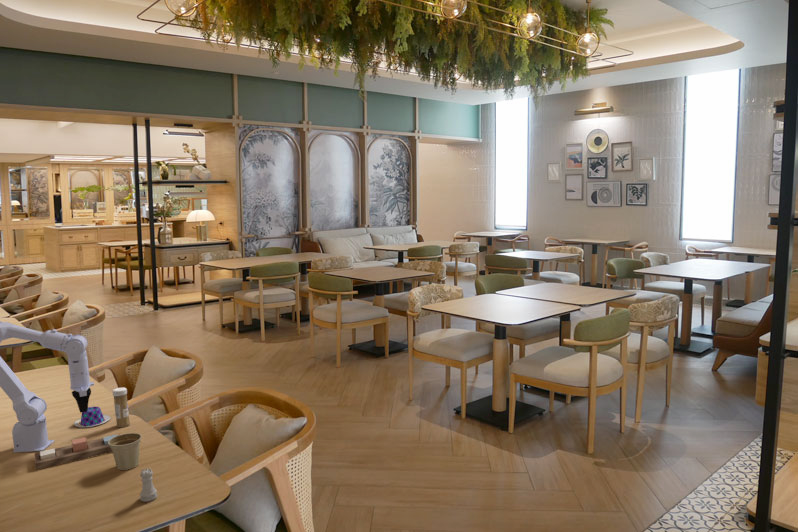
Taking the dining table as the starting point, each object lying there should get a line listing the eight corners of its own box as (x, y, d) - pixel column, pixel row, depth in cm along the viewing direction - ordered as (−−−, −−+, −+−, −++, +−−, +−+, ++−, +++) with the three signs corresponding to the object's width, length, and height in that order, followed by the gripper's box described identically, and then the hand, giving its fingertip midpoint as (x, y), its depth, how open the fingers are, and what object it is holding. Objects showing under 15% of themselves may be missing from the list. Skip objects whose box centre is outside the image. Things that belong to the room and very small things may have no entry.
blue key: (105, 450, 200) (104, 441, 199) (103, 445, 203) (102, 437, 203) (118, 447, 202) (117, 438, 202) (117, 442, 205) (116, 434, 205)
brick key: (73, 453, 195) (72, 444, 195) (72, 448, 198) (71, 440, 198) (87, 449, 197) (86, 441, 197) (86, 445, 200) (85, 437, 200)
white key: (41, 465, 190) (40, 456, 190) (40, 460, 194) (39, 451, 193) (56, 461, 193) (55, 452, 192) (55, 457, 196) (54, 448, 196)
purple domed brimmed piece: (66, 428, 222) (64, 414, 221) (90, 415, 233) (89, 402, 232) (94, 430, 219) (93, 415, 218) (117, 417, 230) (116, 403, 229)
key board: (36, 469, 188) (35, 463, 187) (35, 459, 195) (34, 453, 195) (125, 449, 201) (124, 443, 200) (120, 439, 208) (120, 434, 208)
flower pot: (111, 476, 182) (108, 448, 181) (109, 463, 190) (107, 437, 189) (145, 468, 186) (143, 441, 185) (142, 456, 194) (140, 430, 193)
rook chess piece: (143, 494, 170) (140, 467, 169) (159, 493, 170) (157, 466, 169) (137, 503, 165) (134, 474, 164) (154, 501, 166) (152, 473, 165)
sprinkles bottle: (131, 425, 221) (127, 389, 219) (117, 428, 218) (113, 392, 216) (128, 421, 224) (125, 386, 223) (115, 424, 222) (111, 388, 220)
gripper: (95, 374, 201) (99, 415, 203) (90, 364, 213) (94, 402, 215) (70, 379, 197) (75, 420, 199) (67, 368, 210) (71, 407, 211)
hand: (83, 411), depth 207 cm, fingers closed
